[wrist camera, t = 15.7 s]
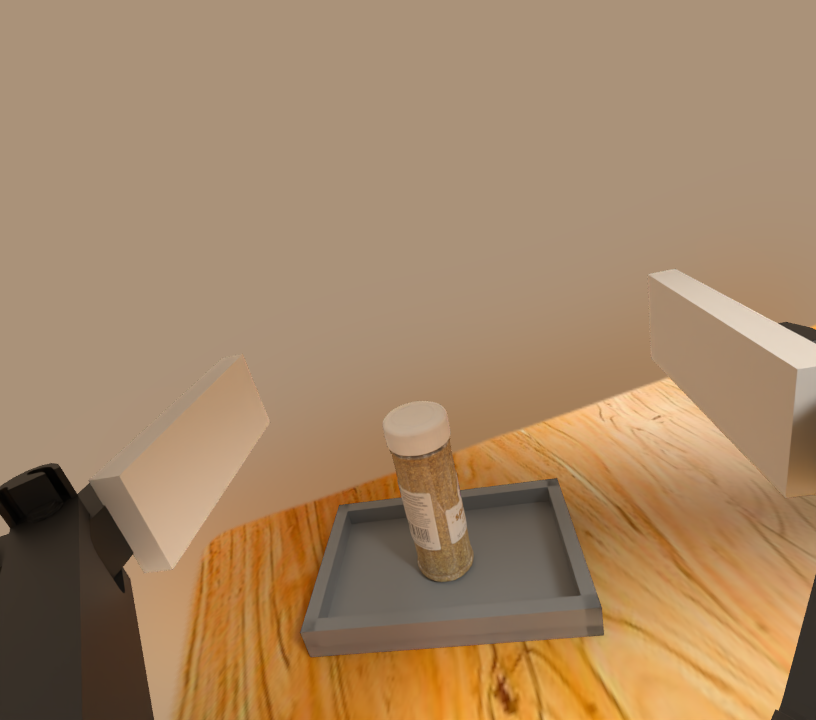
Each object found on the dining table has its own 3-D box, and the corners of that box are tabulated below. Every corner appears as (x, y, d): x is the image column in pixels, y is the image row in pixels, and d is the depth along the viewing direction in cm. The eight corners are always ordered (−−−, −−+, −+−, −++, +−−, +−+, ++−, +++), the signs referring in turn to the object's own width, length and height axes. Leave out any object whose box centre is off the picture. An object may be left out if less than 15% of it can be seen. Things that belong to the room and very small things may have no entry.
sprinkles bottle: (485, 567, 36) (458, 415, 31) (432, 594, 35) (395, 441, 30) (456, 531, 40) (428, 391, 35) (408, 554, 39) (372, 413, 34)
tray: (559, 500, 42) (557, 478, 42) (603, 635, 31) (601, 607, 30) (346, 525, 45) (339, 505, 44) (310, 657, 34) (300, 632, 33)
